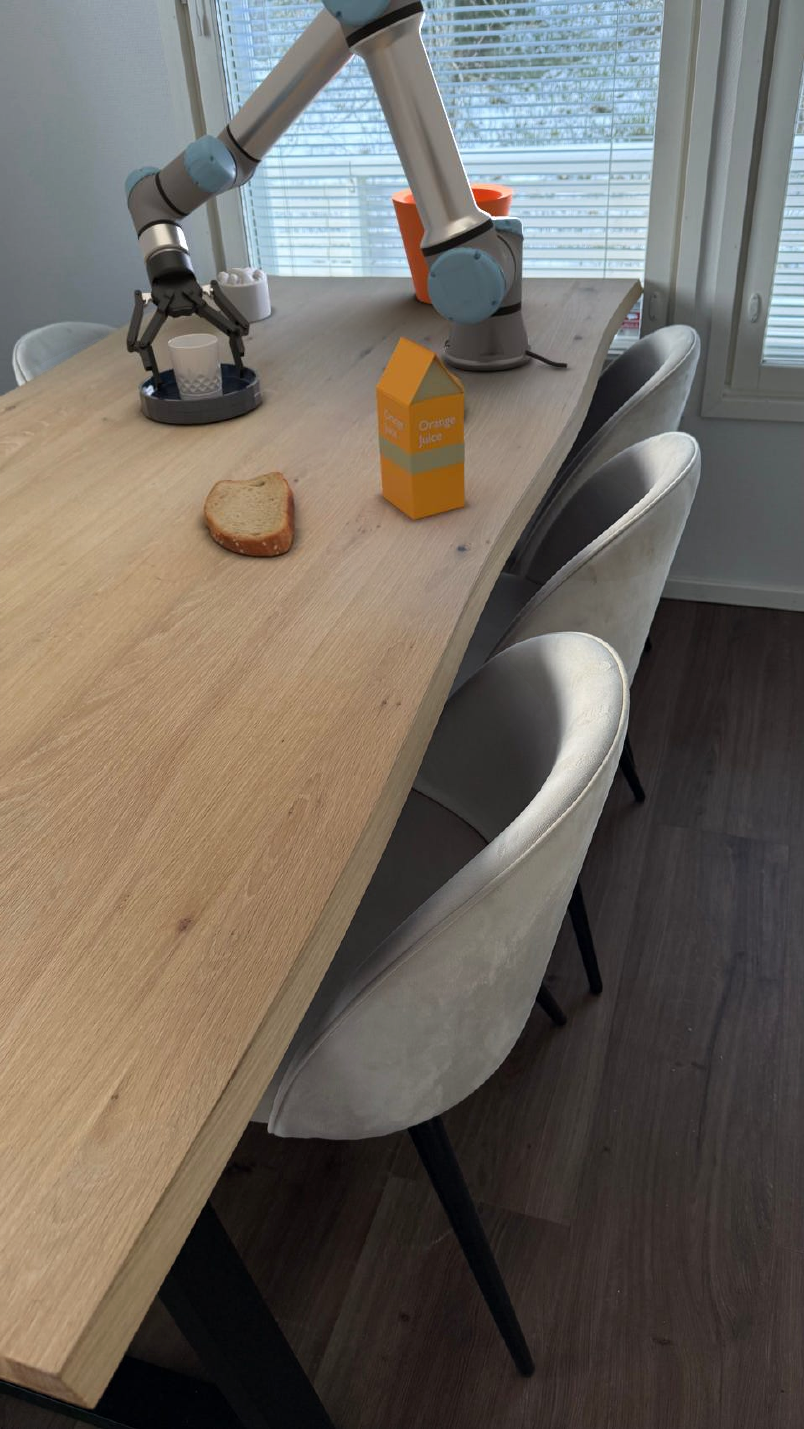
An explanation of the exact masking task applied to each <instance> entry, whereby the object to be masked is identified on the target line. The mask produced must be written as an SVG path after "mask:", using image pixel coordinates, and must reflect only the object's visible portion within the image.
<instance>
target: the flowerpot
mask: <svg viewBox="0 0 804 1429" xmlns="http://www.w3.org/2000/svg"><path fill="white" fill-rule="evenodd" d="M469 184H470V187H471V191H472V194H473V197H474V200H475V203H476V206H477V207H478V208H479V209H480V210H482V211H484V212H486V213H488V214H490V216H491V217H509V214H510V209H511V204H512V199H513V195H514V191H515V190H514V189H513V188H511V187H509V186H505V185H500V184H493V183H477V182H476V183H475V182H474V183H473V182H472V183H470V182H469ZM391 200H392V205H393V209H394V212H395V216H396V220H397V224H398V228H399V233H400V236H401V239H402V245H403V247H404V251H405V255H406V256H405V257H406V260H407V263H408V267H409V271H410V275H411V280H412V283H413V286H414V291H415V295H416V298H417V300H418V301H420V302H422V303H425V304H429V305H433V304H432V302H431V300H430V297H429V293H428V275H429V270H428V267H427V264H426V261H425V258H424V256H423V253H422V250H421V247H420V244H421V241H422V239H423V236H424V232H425V229H424V226H423V224H422V221H421V218H420V215H419V212H418V209H417V207H416V204H415V201H414V198H413V195H412V193H411V190H410V188H408V189H403V190H400V191H398V192H395V193H393V194H392V195H391Z"/></svg>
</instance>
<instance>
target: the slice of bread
mask: <svg viewBox="0 0 804 1429" xmlns="http://www.w3.org/2000/svg"><path fill="white" fill-rule="evenodd" d="M203 512H204V514H203V515H204V524H205V526H206V527H207V528H208V530H209V535H210V536H211V537H212V539H213V540H214V541H215V542H217V543H218V544H219V545H221V546H222V547H223V548H224V549H226V550H229V551H231V552H234V553H237V554H240V555H247V556H252V557H253V556H254V557H273V556H278V555H282V554H285V553H287V552H288V551H289V550H290V548H291V547H292V546H291V545H292V544H291V543H292V541H293V538H294V535H295V532H294V531H295V523H294V522H295V500H294V492H293V490H292V488H291V487H290V485H289V482H288V480H286V478H285V476H284V474H282V473H281V472H280V471H278V470H275V471H272V472H271V471H270V472H269V473H266V474H261V475H259V476H255V477H254V478H250V479H245V480H232V479H223V480H222V479H221V480H219V481H217V482H216V483H215V484H214V485H213V487H211V489H210V491H209V493H208V494H207V496H206V498H205V502H204V506H203Z"/></svg>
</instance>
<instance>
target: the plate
mask: <svg viewBox="0 0 804 1429" xmlns="http://www.w3.org/2000/svg"><path fill="white" fill-rule="evenodd" d="M243 366H244V369H245V371H244V378H241V379H239V377H238V373H237V370H236V366H235V363H234V362H220V367H221V379H222V385H221V386H222V394H223V395H221V396H217V397H211V398H204V399H195V400H181V397H180V392H179V391H180V390H179V388H178V386H177V382H176V377H175V374H174V370H173V367H170V368H167V369H165V370H161V371H159V374H160V377H161V381H162V391H160V392H158V391H157V388H156V384H155V381H154V377H153V374H152V375H149V376H147V377H146V378H144V379H142V381H141V382H140V383H139V385H138V388H137V389H138V393H139V398H140V402H141V408H142V412H143V414H144V415H145V416H146V417H148V418H149V419H151V420H153V421H156V422H162V423H168V424H176V425H177V424H178V425H198V424H200V425H201V424H208V423H214V422H220V421H226V420H229V419H232V418H236V417H238V416H240V415H243V414H246V413H248V412H250V411H251V410H253V409H255V408H257V407H258V406H259V405H260V404H261V402H262V400H263V398H264V397H263V389H262V381H261V375H260V373H259V372H258V370H257V369H255V368H253V367H252V366H248V365H245V364H243Z"/></svg>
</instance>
